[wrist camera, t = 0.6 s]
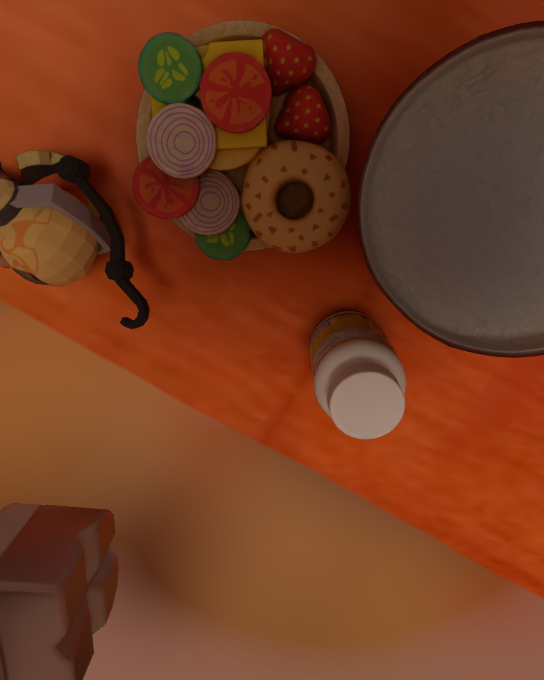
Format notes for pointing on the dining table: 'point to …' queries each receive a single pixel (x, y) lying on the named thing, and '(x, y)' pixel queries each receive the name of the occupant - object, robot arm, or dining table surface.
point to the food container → (464, 197)
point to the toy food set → (242, 139)
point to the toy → (61, 226)
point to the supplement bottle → (357, 375)
